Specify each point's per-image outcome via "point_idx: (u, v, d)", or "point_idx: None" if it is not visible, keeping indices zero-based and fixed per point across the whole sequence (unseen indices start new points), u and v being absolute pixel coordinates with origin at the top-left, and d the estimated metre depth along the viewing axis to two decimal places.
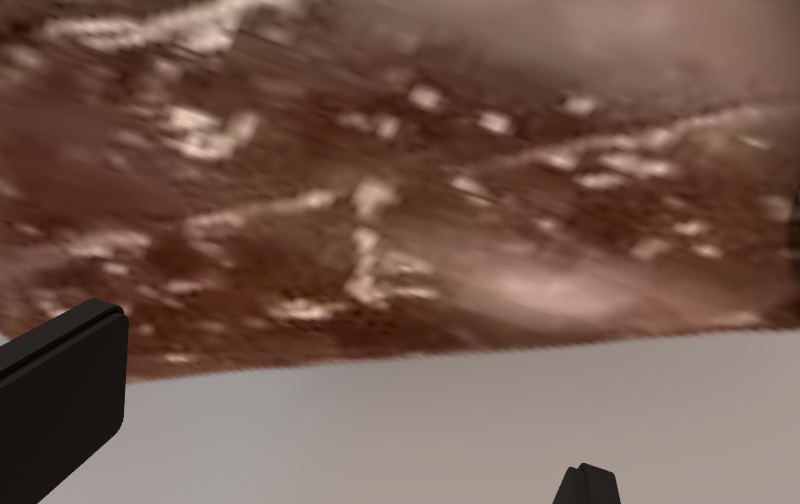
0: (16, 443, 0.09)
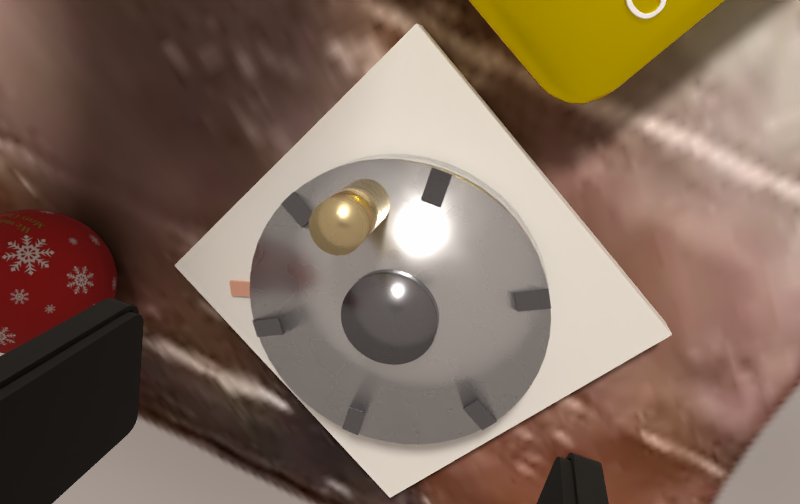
0: (35, 441, 0.09)
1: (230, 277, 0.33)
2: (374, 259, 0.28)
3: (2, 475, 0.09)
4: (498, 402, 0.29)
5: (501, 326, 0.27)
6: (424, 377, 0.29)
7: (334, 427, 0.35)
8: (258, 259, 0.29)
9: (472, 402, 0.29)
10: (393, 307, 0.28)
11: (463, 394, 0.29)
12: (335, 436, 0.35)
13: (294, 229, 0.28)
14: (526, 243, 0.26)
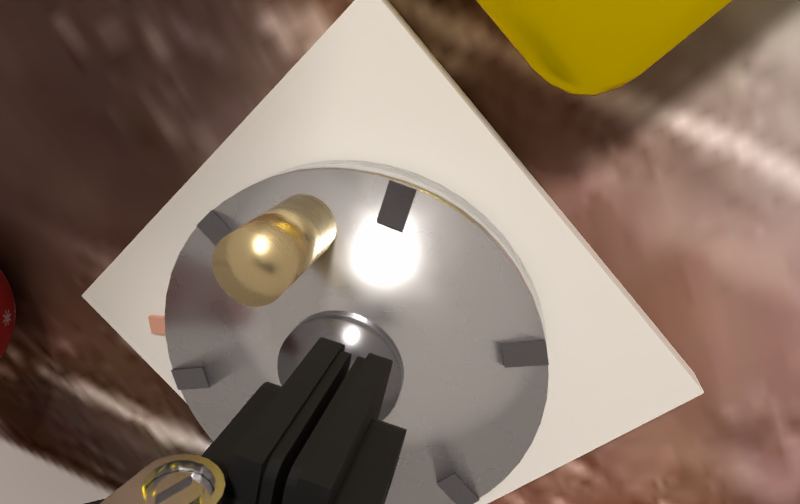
0: None
1: (149, 311, 0.26)
2: (319, 298, 0.21)
3: None
4: (481, 477, 0.23)
5: (484, 384, 0.21)
6: None
7: None
8: (173, 295, 0.23)
9: (448, 476, 0.23)
10: None
11: (436, 465, 0.23)
12: None
13: None
14: (516, 280, 0.19)
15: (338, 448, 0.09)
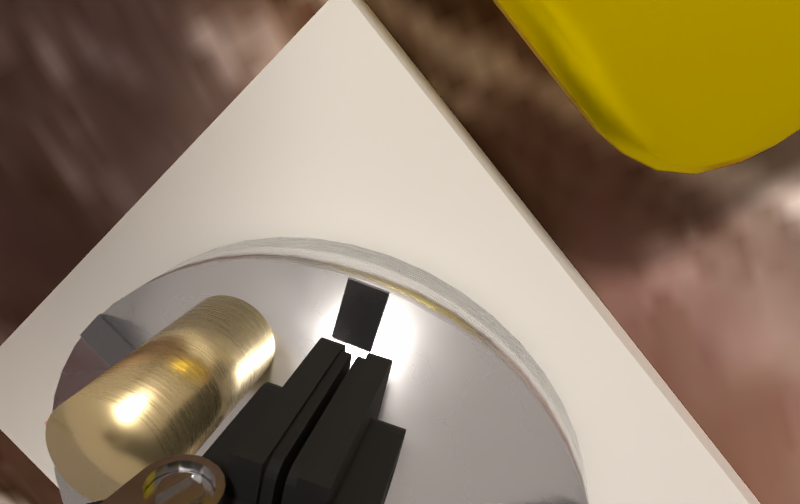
0: None
1: (47, 415, 0.20)
2: None
3: None
4: None
5: None
6: None
7: None
8: None
9: None
10: None
11: None
12: None
13: None
14: (544, 426, 0.13)
15: (337, 448, 0.09)
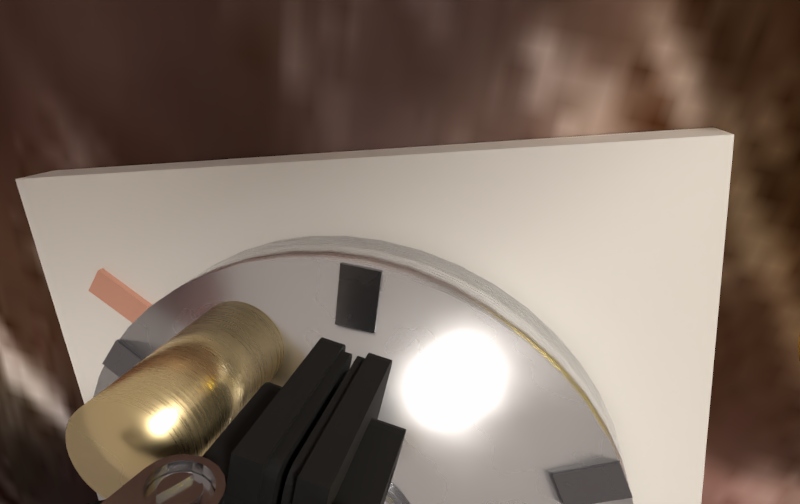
0: None
1: (104, 264, 0.17)
2: None
3: None
4: None
5: None
6: None
7: None
8: None
9: None
10: None
11: None
12: None
13: None
14: (557, 381, 0.13)
15: (337, 448, 0.09)
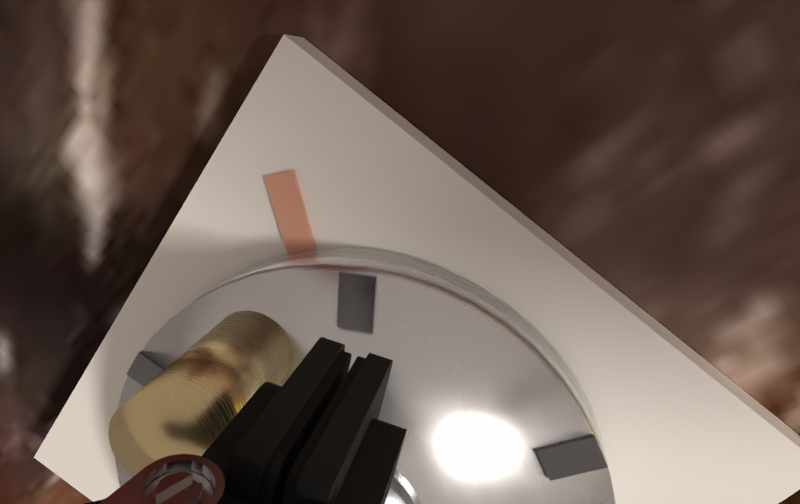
0: None
1: (299, 168, 0.16)
2: None
3: None
4: None
5: None
6: None
7: (101, 372, 0.20)
8: None
9: None
10: None
11: None
12: (87, 374, 0.21)
13: None
14: (535, 366, 0.14)
15: (338, 448, 0.09)
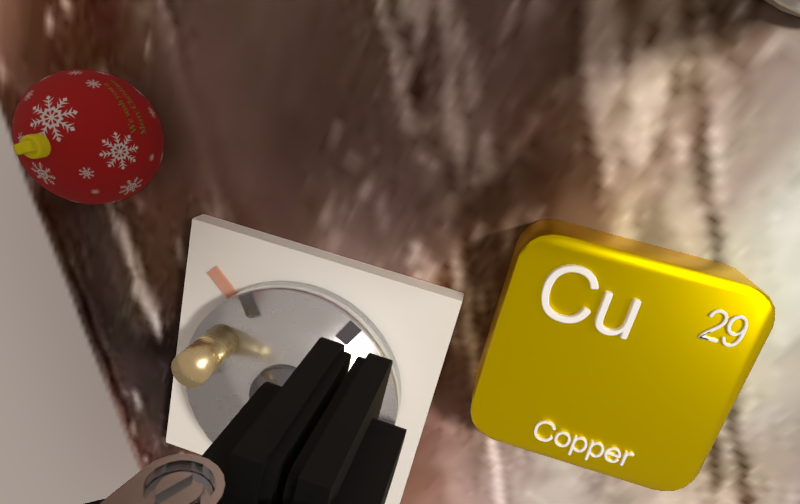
0: None
1: (218, 264, 0.40)
2: (252, 369, 0.39)
3: None
4: (386, 409, 0.38)
5: None
6: None
7: (179, 384, 0.44)
8: (196, 412, 0.41)
9: None
10: None
11: None
12: (173, 388, 0.44)
13: None
14: (318, 302, 0.37)
15: (338, 448, 0.09)
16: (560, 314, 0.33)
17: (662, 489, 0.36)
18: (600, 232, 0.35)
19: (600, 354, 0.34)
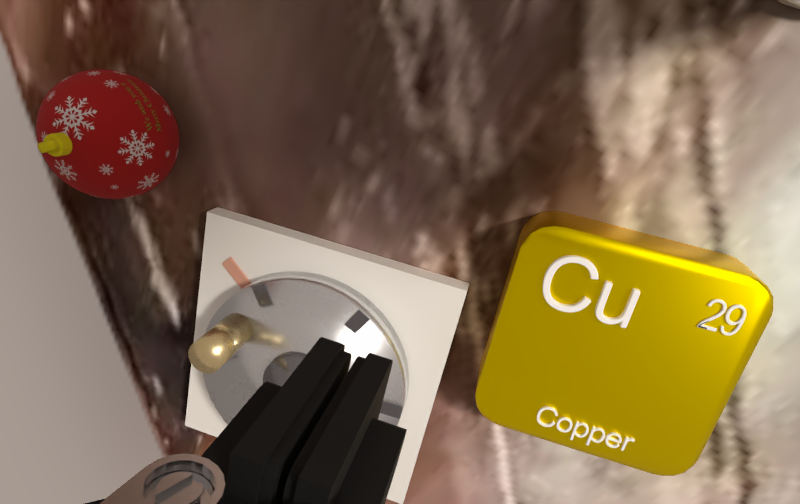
0: None
1: (232, 255, 0.42)
2: (266, 356, 0.41)
3: None
4: (393, 395, 0.40)
5: (355, 347, 0.39)
6: None
7: (196, 371, 0.46)
8: (213, 397, 0.43)
9: None
10: None
11: None
12: (191, 374, 0.46)
13: None
14: (327, 292, 0.38)
15: (338, 448, 0.09)
16: (562, 303, 0.34)
17: (662, 474, 0.37)
18: (602, 223, 0.36)
19: (601, 342, 0.35)
